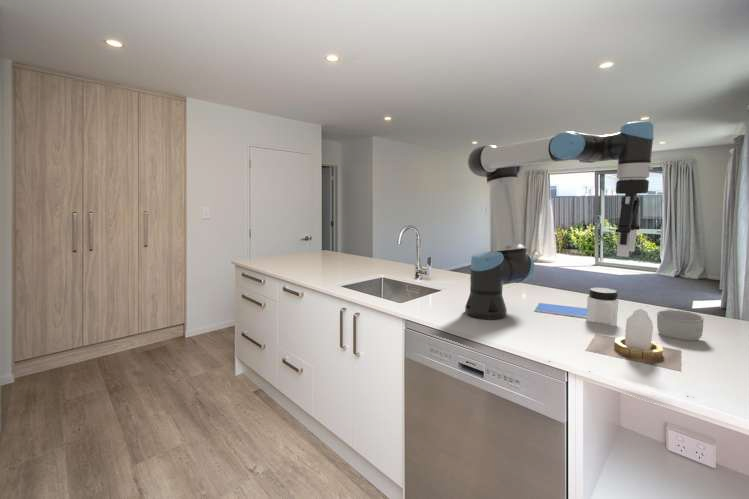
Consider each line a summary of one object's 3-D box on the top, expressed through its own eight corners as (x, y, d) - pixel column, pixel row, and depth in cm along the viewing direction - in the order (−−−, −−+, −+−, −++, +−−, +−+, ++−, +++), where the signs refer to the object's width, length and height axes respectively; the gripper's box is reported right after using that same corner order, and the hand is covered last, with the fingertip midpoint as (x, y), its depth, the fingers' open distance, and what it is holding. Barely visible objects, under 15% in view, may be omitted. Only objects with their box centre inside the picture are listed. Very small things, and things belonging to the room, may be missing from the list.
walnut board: (585, 355, 98) (585, 350, 98) (595, 338, 110) (595, 334, 110) (680, 377, 85) (681, 371, 85) (680, 355, 97) (681, 350, 97)
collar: (611, 352, 96) (612, 345, 96) (617, 341, 104) (617, 334, 104) (661, 363, 90) (661, 355, 89) (662, 350, 98) (663, 343, 97)
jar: (607, 330, 118) (610, 294, 116) (582, 323, 125) (584, 289, 123) (620, 324, 123) (622, 290, 121) (595, 318, 130) (597, 286, 128)
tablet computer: (533, 312, 140) (533, 309, 140) (538, 305, 150) (538, 302, 150) (591, 320, 129) (591, 317, 129) (592, 311, 140) (592, 308, 140)
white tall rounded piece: (646, 305, 98) (660, 311, 92) (642, 347, 99) (656, 355, 94) (622, 305, 99) (635, 311, 93) (619, 346, 100) (631, 355, 95)
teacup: (705, 349, 101) (708, 322, 100) (657, 342, 107) (659, 316, 106) (694, 334, 113) (697, 309, 112) (651, 328, 119) (653, 305, 118)
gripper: (644, 176, 90) (636, 260, 93) (652, 180, 108) (646, 250, 111) (609, 178, 95) (602, 257, 97) (623, 181, 113) (617, 248, 116)
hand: (625, 253), depth 104 cm, fingers open, 13 cm apart
